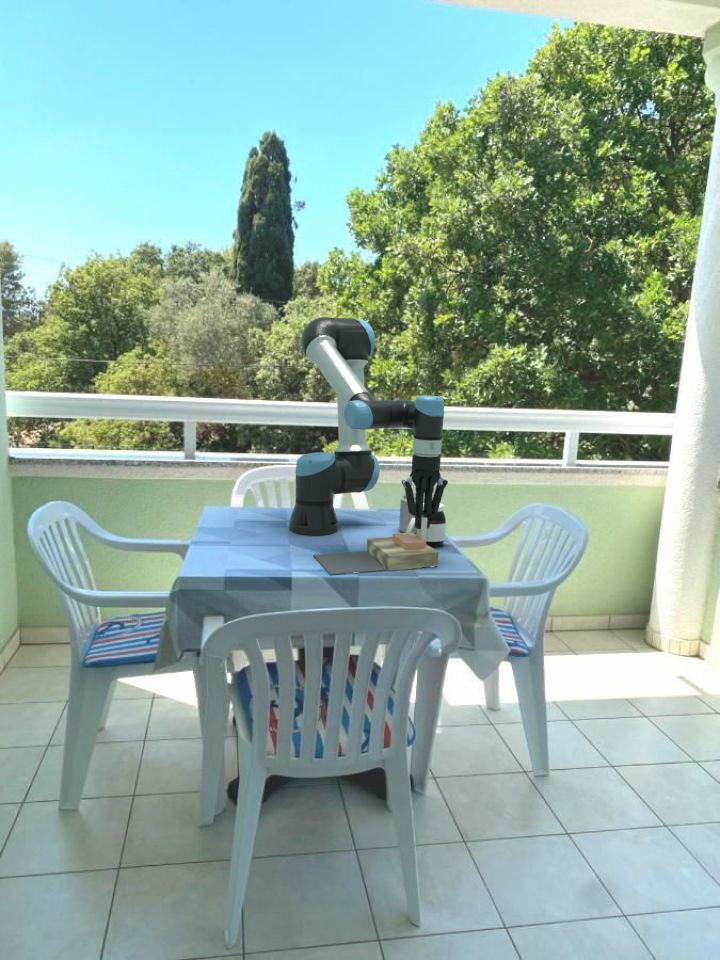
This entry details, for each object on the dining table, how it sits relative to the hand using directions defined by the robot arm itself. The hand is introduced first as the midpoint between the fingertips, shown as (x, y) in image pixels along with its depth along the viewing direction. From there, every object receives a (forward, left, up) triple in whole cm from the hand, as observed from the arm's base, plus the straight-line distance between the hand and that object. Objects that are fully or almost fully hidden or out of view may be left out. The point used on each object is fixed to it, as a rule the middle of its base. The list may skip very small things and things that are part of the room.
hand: (421, 539), depth 184 cm
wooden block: (0, -6, -5) cm, 8 cm away
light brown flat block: (0, -4, -1) cm, 4 cm away
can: (-25, +8, -5) cm, 27 cm away
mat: (0, -21, -5) cm, 21 cm away
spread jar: (-14, +7, -5) cm, 16 cm away
